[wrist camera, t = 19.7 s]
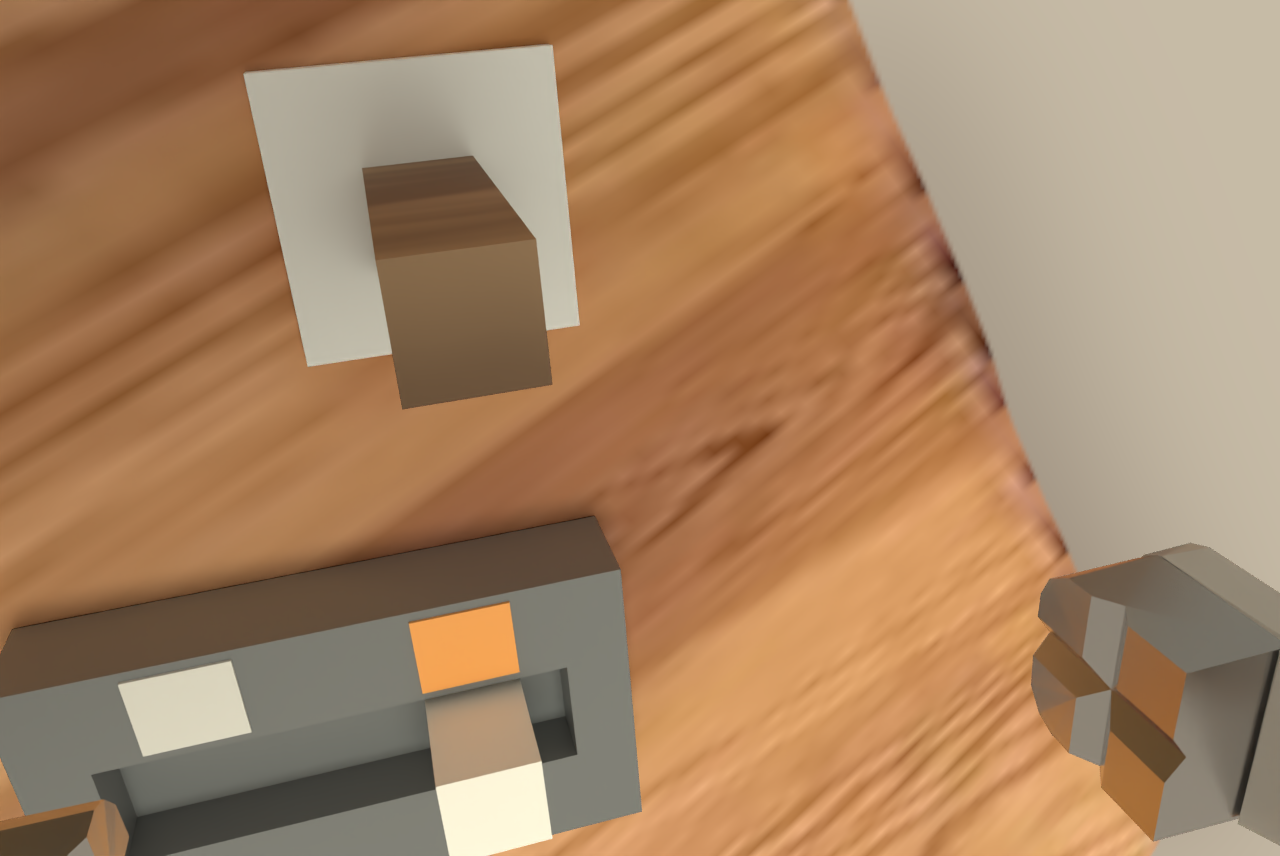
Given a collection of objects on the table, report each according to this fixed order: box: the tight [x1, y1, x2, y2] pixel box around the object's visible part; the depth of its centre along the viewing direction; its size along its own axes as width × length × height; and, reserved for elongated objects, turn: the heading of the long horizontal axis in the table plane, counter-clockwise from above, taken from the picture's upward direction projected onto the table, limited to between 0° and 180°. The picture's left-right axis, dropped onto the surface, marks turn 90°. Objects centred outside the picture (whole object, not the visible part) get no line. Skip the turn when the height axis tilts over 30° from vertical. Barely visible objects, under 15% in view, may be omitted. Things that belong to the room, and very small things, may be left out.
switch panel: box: [0, 516, 642, 856], centre depth 33 cm, size 18×10×4 cm, turn 94°
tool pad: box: [243, 44, 580, 367], centre depth 29 cm, size 8×8×1 cm
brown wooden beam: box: [362, 156, 552, 409], centre depth 24 cm, size 3×3×10 cm
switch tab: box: [425, 678, 552, 856], centre depth 32 cm, size 3×3×5 cm
